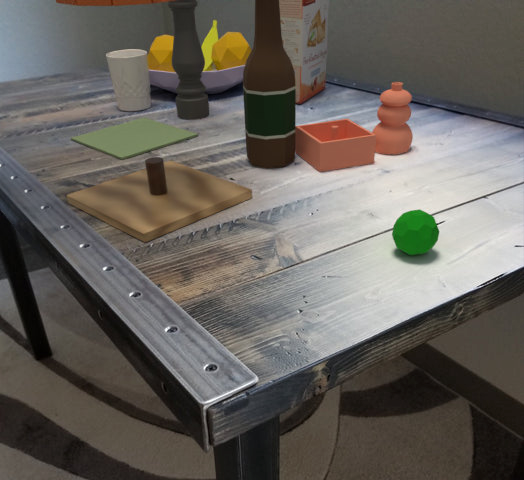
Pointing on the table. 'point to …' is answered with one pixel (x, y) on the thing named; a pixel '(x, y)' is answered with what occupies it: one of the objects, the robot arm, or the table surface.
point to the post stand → (158, 198)
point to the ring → (108, 2)
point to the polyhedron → (415, 232)
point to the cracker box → (306, 43)
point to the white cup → (130, 79)
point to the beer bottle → (269, 93)
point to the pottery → (357, 135)
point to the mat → (133, 138)
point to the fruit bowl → (216, 61)
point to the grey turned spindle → (188, 62)
